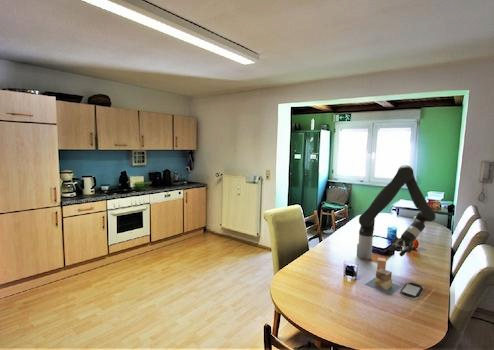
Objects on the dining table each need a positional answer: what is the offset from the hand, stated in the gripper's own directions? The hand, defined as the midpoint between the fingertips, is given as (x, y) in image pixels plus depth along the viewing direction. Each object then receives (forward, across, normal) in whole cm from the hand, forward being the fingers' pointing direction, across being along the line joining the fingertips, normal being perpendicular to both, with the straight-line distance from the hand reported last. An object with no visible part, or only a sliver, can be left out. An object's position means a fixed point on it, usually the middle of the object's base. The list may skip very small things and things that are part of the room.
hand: (395, 252), depth 176 cm
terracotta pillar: (+16, 0, +2) cm, 17 cm away
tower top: (+20, +14, -9) cm, 26 cm away
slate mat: (+24, +14, -5) cm, 28 cm away
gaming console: (+16, +23, +4) cm, 28 cm away
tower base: (+23, +14, -5) cm, 27 cm away
